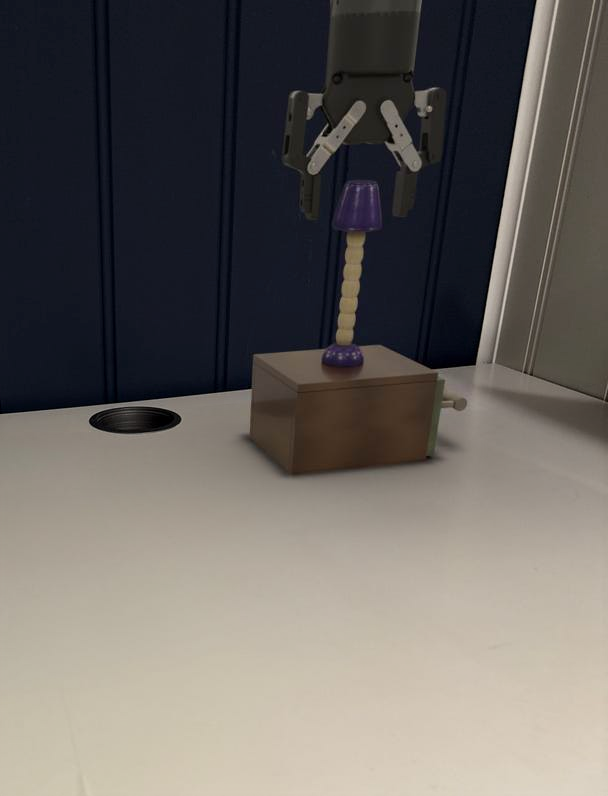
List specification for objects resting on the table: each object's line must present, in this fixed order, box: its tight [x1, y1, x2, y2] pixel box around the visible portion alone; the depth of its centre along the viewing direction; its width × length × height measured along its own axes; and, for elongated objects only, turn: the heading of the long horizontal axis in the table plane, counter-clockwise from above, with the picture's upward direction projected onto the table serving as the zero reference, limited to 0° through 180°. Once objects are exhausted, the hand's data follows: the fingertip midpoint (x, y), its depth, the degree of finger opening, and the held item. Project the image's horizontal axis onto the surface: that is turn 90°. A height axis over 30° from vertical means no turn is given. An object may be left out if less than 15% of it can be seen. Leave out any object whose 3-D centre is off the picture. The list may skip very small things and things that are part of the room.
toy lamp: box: [322, 179, 383, 367], centre depth 90 cm, size 5×5×17 cm
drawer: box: [426, 375, 468, 457], centre depth 97 cm, size 18×11×8 cm, turn 103°
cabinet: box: [249, 344, 439, 476], centre depth 97 cm, size 15×13×10 cm
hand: (355, 217), depth 88 cm, fingers open, 8 cm apart
